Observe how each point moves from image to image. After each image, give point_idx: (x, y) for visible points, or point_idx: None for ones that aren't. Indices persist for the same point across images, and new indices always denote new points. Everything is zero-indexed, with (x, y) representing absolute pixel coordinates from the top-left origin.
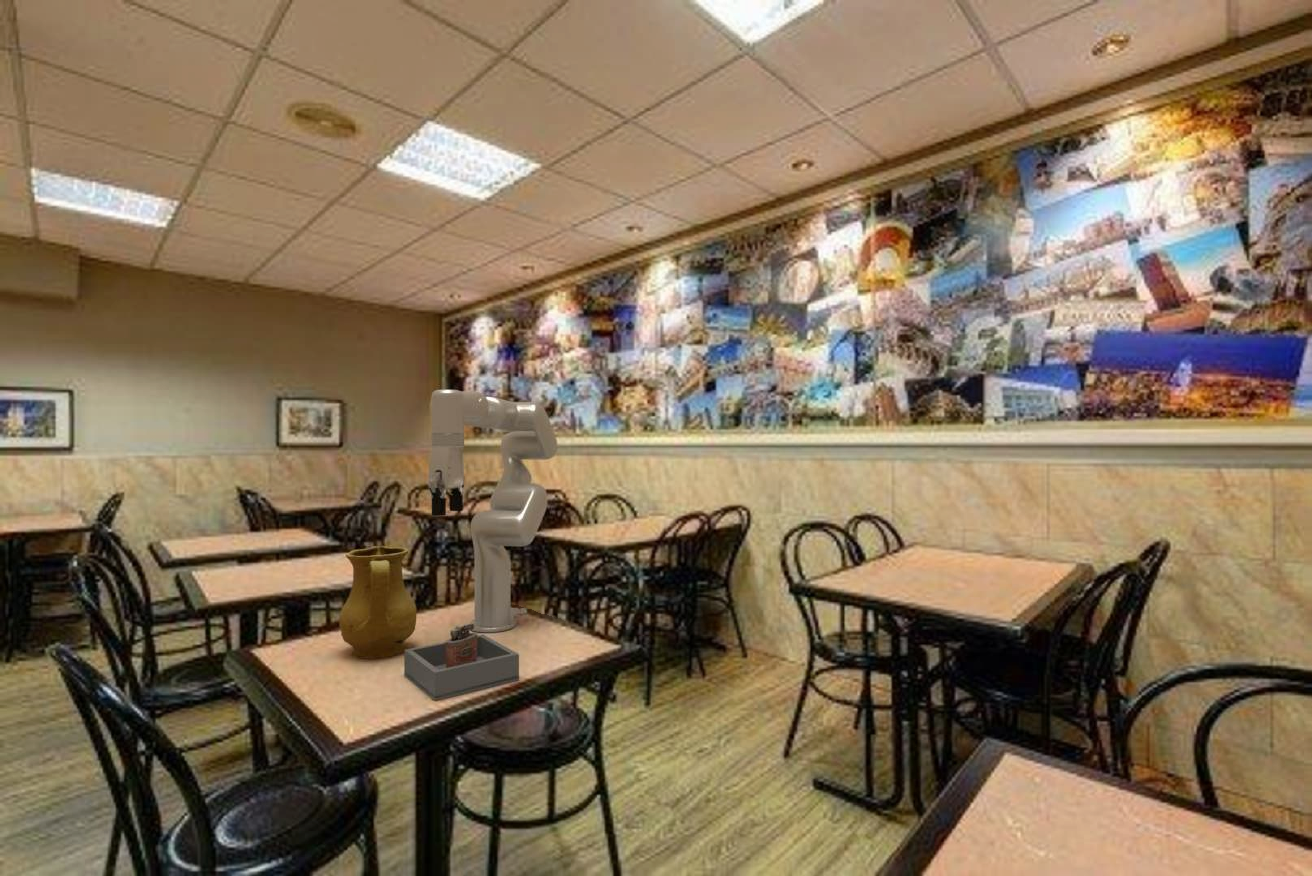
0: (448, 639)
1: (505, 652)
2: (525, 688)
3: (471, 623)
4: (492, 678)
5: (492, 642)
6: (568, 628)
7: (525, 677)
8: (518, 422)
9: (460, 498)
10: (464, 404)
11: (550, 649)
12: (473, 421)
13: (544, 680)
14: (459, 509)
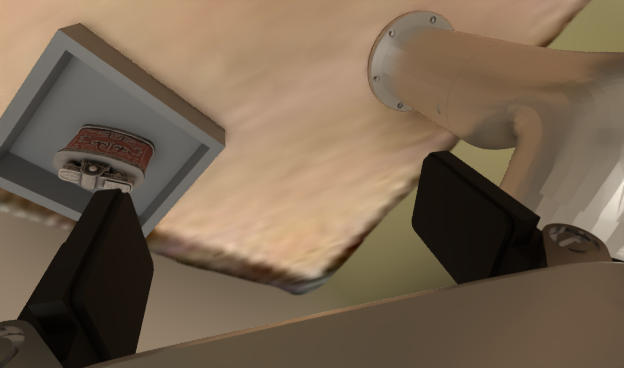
0: (73, 152)
1: (146, 220)
2: None
3: (124, 189)
4: None
5: (181, 184)
6: (395, 193)
7: (159, 224)
8: None
9: (462, 283)
10: None
11: (289, 208)
12: None
13: (157, 249)
14: (416, 221)
